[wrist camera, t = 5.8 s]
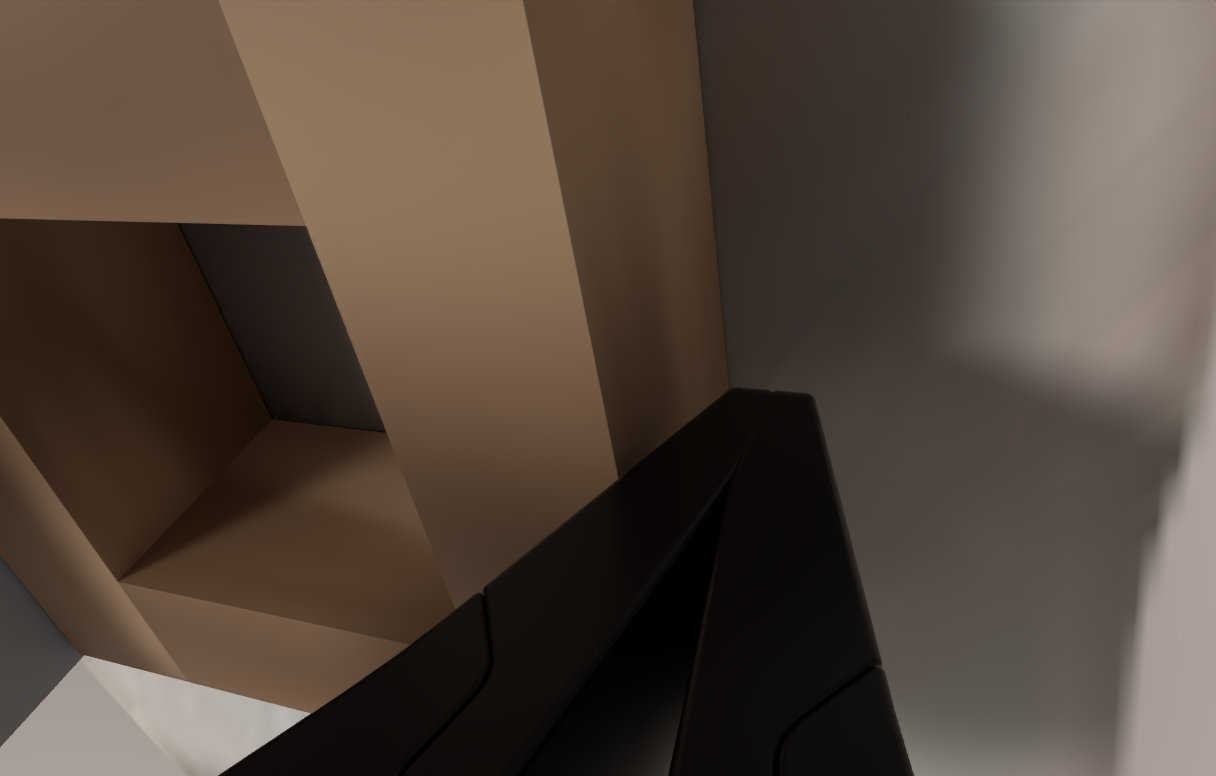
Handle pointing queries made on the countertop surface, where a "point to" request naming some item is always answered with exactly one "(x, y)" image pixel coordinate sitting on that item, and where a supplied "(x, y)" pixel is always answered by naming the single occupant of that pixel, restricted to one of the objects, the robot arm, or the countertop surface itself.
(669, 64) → the socket block
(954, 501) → the countertop surface
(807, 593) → the robot arm
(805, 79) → the countertop surface
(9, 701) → the backstop wall
